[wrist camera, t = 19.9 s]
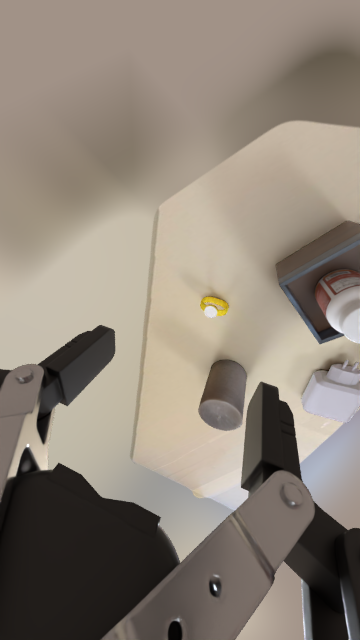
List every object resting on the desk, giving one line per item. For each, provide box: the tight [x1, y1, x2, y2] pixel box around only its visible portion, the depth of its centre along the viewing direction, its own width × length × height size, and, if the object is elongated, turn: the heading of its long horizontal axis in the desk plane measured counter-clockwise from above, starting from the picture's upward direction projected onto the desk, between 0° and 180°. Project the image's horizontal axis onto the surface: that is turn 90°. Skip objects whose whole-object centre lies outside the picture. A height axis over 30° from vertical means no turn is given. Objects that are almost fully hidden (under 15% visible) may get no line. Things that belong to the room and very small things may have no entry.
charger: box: [301, 360, 360, 423], centre depth 46 cm, size 5×9×15 cm
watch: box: [200, 297, 229, 318], centre depth 45 cm, size 6×3×6 cm, turn 79°
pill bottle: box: [315, 269, 360, 343], centre depth 26 cm, size 6×6×11 cm
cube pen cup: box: [276, 221, 360, 344], centre depth 33 cm, size 12×12×12 cm
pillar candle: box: [198, 360, 247, 431], centre depth 51 cm, size 10×10×15 cm
